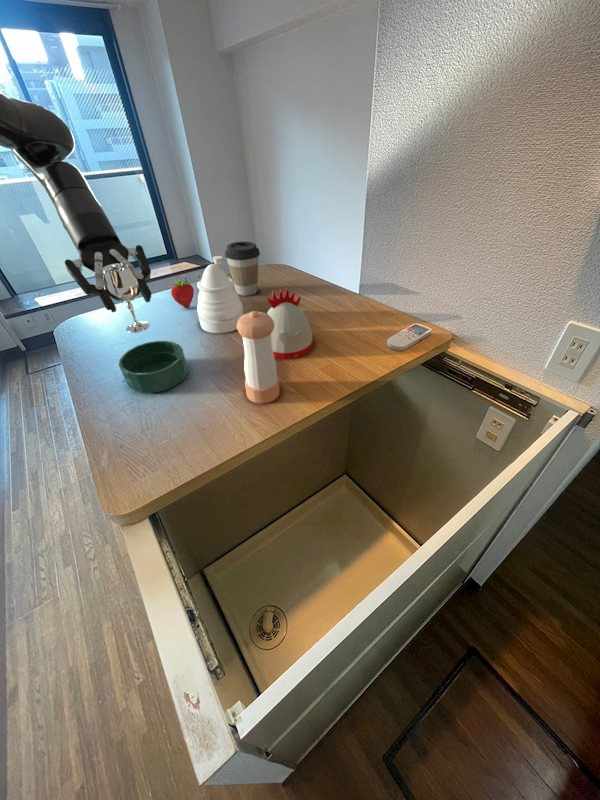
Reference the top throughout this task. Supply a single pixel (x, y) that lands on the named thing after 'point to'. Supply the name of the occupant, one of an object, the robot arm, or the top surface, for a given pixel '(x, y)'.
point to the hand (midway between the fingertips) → (131, 304)
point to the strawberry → (182, 293)
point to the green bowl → (154, 366)
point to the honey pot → (218, 300)
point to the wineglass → (123, 290)
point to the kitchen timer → (289, 327)
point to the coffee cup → (243, 266)
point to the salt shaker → (259, 357)
